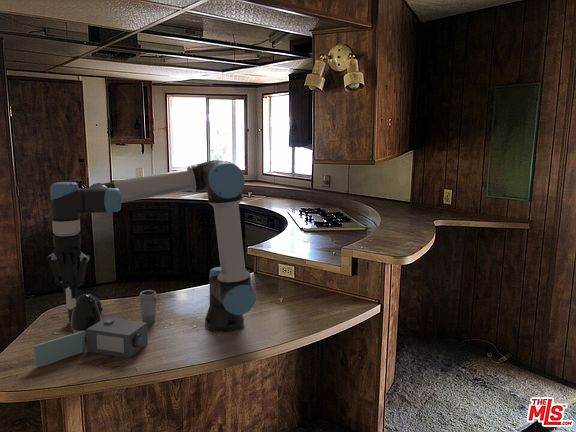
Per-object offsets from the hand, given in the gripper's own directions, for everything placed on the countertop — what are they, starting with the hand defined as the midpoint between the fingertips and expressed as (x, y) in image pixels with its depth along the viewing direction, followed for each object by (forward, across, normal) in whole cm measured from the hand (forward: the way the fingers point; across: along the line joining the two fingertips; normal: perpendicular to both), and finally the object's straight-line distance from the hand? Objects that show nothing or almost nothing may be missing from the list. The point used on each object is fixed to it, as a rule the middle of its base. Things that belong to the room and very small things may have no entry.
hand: (71, 307), depth 142 cm
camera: (+19, +13, -34) cm, 41 cm away
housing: (+19, -9, -12) cm, 24 cm away
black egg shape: (+19, +7, -21) cm, 29 cm away
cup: (+19, -11, -36) cm, 42 cm away
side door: (+18, +6, -2) cm, 19 cm away
